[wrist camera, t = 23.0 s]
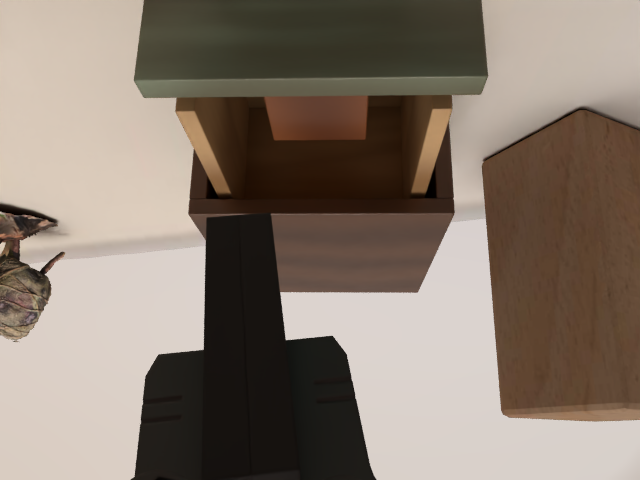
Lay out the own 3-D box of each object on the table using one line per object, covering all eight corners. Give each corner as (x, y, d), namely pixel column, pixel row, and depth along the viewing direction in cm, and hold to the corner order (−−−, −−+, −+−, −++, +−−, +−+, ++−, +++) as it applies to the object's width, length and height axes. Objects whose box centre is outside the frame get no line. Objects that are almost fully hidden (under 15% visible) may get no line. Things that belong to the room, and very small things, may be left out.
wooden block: (564, 186, 54) (593, 421, 48) (478, 161, 50) (498, 417, 44) (672, 140, 46) (725, 417, 40) (581, 105, 42) (625, 411, 35)
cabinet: (203, 39, 35) (187, 214, 32) (443, 36, 35) (455, 214, 31) (247, 166, 51) (240, 292, 48) (413, 165, 51) (418, 292, 47)
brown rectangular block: (277, 37, 32) (273, 141, 30) (264, -43, 27) (258, 76, 25) (364, 36, 32) (366, 140, 30) (368, -45, 26) (370, 75, 25)
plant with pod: (28, 240, 71) (-3, 421, 64) (-60, 205, 61) (-107, 415, 54) (85, 232, 68) (59, 421, 62) (3, 195, 58) (-39, 415, 52)
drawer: (95, -293, 19) (50, -63, 16) (514, -309, 18) (545, -73, 15) (227, 98, 40) (218, 228, 37) (424, 96, 39) (430, 227, 36)
